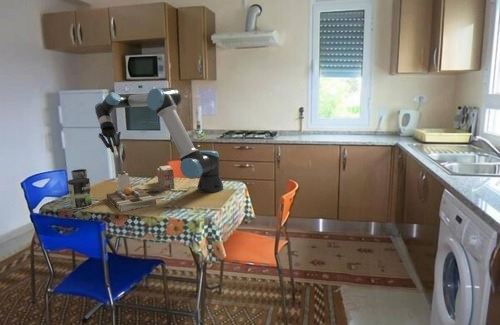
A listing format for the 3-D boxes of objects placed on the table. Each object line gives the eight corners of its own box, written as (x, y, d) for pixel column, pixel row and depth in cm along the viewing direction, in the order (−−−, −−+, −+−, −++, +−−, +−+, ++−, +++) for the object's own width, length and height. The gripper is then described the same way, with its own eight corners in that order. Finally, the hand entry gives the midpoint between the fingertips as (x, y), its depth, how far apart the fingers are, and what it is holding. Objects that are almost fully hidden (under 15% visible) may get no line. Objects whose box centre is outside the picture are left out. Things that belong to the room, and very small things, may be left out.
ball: (133, 193, 202) (132, 186, 202) (130, 195, 198) (129, 188, 198) (126, 193, 203) (125, 186, 202) (123, 195, 199) (122, 188, 198)
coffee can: (96, 203, 196) (93, 177, 194) (84, 209, 187) (81, 182, 184) (79, 202, 199) (76, 177, 196) (66, 208, 189) (63, 182, 186)
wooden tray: (106, 198, 204) (106, 191, 203) (138, 192, 214) (138, 185, 213) (121, 211, 182) (120, 203, 181) (156, 204, 192) (155, 196, 191)
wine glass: (92, 195, 211) (89, 170, 208) (77, 199, 206) (74, 172, 203) (86, 193, 217) (83, 168, 214) (72, 196, 211) (68, 170, 208)
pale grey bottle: (119, 191, 205) (117, 171, 203) (128, 190, 208) (126, 170, 206) (121, 193, 203) (119, 172, 200) (130, 191, 206) (128, 171, 203)
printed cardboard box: (157, 182, 238) (156, 163, 236) (167, 181, 241) (166, 162, 238) (164, 190, 219) (162, 170, 217) (174, 188, 222) (173, 168, 219)
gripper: (116, 128, 229) (127, 158, 219) (94, 129, 222) (104, 161, 212) (118, 120, 224) (129, 151, 214) (95, 121, 216) (105, 153, 206)
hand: (116, 156), depth 213 cm, fingers closed
